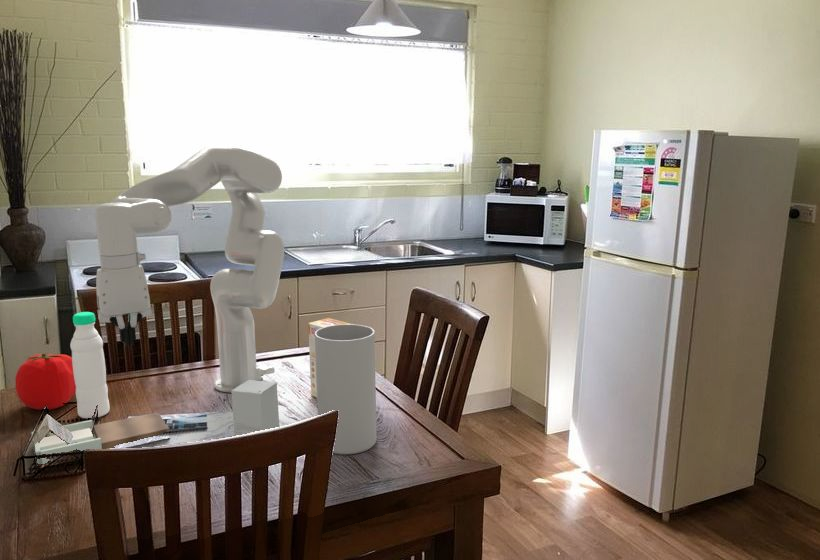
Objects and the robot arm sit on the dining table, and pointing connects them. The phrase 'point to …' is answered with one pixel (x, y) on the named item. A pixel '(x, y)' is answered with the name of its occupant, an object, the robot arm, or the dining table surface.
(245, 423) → the supplement box
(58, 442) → the tile
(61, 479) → the dining table surface
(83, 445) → the tray
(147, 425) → the board
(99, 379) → the water bottle
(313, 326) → the coffeecake box
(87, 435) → the tile
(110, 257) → the robot arm
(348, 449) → the cylinder vase
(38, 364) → the tomato
